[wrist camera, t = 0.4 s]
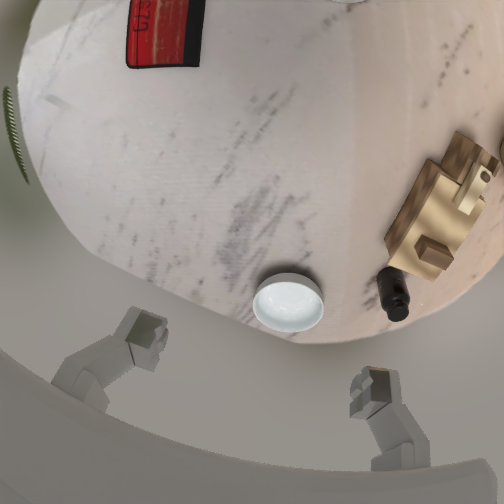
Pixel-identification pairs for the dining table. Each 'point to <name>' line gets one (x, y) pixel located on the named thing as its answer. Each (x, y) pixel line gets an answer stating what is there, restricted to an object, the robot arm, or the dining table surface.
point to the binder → (164, 33)
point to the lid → (434, 232)
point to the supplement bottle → (393, 293)
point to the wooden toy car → (472, 188)
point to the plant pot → (502, 152)
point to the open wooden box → (451, 166)
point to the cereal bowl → (288, 302)
